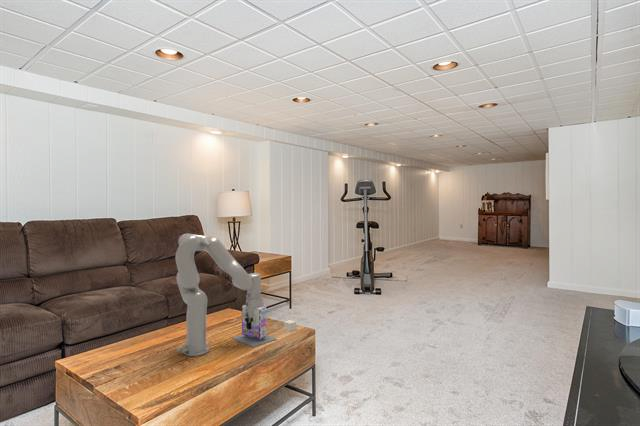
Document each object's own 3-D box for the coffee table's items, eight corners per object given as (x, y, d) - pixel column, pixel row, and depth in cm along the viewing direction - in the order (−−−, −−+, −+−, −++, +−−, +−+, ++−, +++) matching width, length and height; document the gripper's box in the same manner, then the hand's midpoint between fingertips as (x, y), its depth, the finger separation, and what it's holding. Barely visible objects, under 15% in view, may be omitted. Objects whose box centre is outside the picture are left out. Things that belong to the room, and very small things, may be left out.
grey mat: (253, 347, 188) (253, 346, 188) (231, 338, 201) (231, 337, 201) (276, 339, 199) (276, 338, 199) (255, 331, 213) (255, 330, 213)
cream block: (289, 331, 212) (289, 323, 212) (284, 329, 215) (284, 321, 215) (296, 329, 216) (296, 321, 216) (290, 328, 219) (290, 319, 219)
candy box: (266, 336, 199) (267, 307, 199) (259, 339, 194) (260, 309, 194) (248, 331, 206) (248, 303, 206) (241, 334, 201) (241, 305, 201)
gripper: (245, 299, 191) (245, 333, 191) (270, 294, 204) (270, 325, 204) (237, 297, 196) (236, 329, 196) (262, 292, 209) (262, 322, 209)
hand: (253, 327), depth 200 cm, fingers closed on candy box, 6 cm apart
